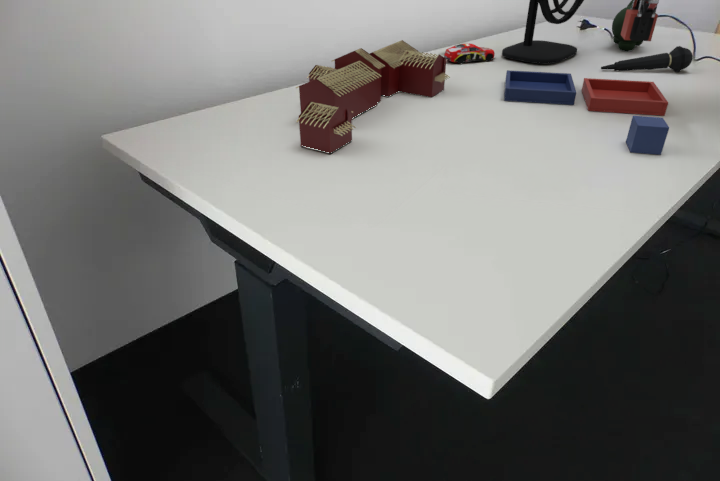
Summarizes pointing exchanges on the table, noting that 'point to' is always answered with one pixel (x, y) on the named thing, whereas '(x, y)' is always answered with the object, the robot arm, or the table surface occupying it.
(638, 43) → the toy figurine
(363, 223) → the table surface
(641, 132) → the navy block
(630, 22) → the red block
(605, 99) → the red tray
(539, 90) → the navy tray
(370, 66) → the toy houses
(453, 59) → the race car
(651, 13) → the robot arm
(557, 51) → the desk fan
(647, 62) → the microphone
